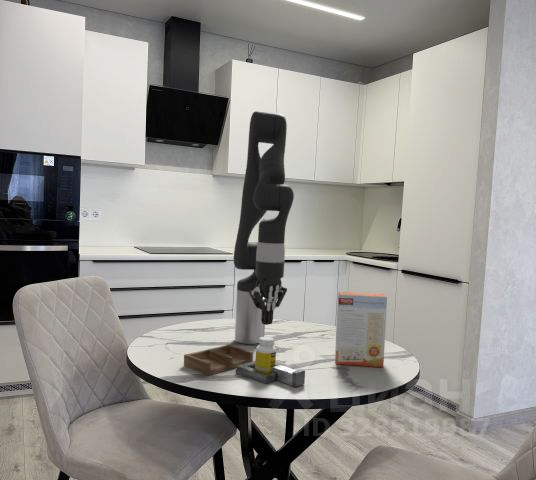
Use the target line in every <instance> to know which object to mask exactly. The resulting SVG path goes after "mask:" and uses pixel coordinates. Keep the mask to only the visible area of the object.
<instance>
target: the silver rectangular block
mask: <svg viewBox="0 0 536 480" xmlns="http://www.w3.org/2000/svg"><path fill="white" fill-rule="evenodd" d="M272 373H275V381H278V382H281V383H285V384H287V385H290V386H292V387H295V388H297V387H300V386H303V385H305V382H306V369H304V368H301V369H298V370H297V369H295V368H294V369H291V368H288V367H285V366H282V365H278V366H275V367H273V369H272Z"/></svg>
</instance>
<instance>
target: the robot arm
mask: <svg viewBox="0 0 536 480" xmlns="http://www.w3.org/2000/svg"><path fill="white" fill-rule="evenodd" d="M287 128H288V124H287V119H286V116H284V115H283V114H281V113H275V112H268V111H267V112H265V111H260V110H259V111H258V110H256V111H254V112H252V114H251V117H250V120H249V131H248V146H247V159H246V169H245V172H244V181H243V187H242V196H241V205H240V206H241V208H240V214H239V215H240V216H239V224H238V229H237V234H236V239H235V240H236V241H235V244H234V252H233V264H234V268H236V269H237V270H245V271H246V270H251V271H253V272H252V273H251V274H250V275H248V276H247V277H244V278H241V279H239V280H238V281H237V282H236V283H237V284H236V302H235V303H236V307H235V309H236V310H235V324H234V325H235V327H234V328H235V330H234V341H235V342H237V343H240V344H247V345H255V344H259V338H260V337H265V332H266V331H265V329H266V326H269V325H272V324H273V320H274V311H275V309H276V308H279V307H280V306H281V303H282V301H283V299H284V298H285V295H286V294H287V292H288V288H287V287H284V286H283V285H282V284H283V283H282V279H283V278H284V275H285V273H284V272H285V258H286V257H285V255H286V254H285V253H286V251H285V250H286V247H285V241H286V240H285V239H286V238H285V234H286V227H287V221H288V217H289V214H290V211H291V208H292V205H293V201H294V199H295V198H294V197H295V194H294V191H293V188H292V187H291V186H290V185H288V184H285V182H286V173H285V172H286V171H285V154H286V153H285V152H286V144H287V142H286V141H287ZM259 143H262V144H271V145H272V146H270V147H269V148H268V149H267V150H266V151H265V152H264V153H263V154H262V156H261V155H260V149H259ZM267 211H269V212H270V211H271V212H278V214H277V216H276V217H274V218H268V219H263V220H262V218H263V217H264V215H265V214H267ZM257 224H258V235H257V237H258V238H257V241H249V239H250V235H251V234H252V231H253V230H254V229H255V227H256V225H257Z"/></svg>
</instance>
